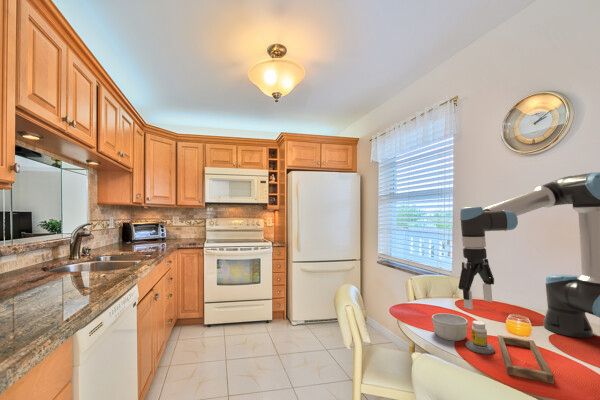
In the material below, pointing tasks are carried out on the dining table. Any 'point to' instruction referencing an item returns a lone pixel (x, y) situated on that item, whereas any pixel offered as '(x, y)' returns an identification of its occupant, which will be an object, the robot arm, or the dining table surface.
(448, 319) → the ramekin
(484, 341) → the supplement bottle
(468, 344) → the coaster
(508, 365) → the wooden frame
